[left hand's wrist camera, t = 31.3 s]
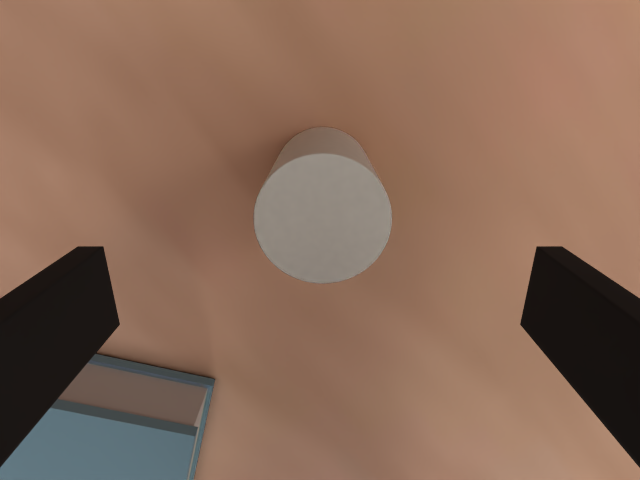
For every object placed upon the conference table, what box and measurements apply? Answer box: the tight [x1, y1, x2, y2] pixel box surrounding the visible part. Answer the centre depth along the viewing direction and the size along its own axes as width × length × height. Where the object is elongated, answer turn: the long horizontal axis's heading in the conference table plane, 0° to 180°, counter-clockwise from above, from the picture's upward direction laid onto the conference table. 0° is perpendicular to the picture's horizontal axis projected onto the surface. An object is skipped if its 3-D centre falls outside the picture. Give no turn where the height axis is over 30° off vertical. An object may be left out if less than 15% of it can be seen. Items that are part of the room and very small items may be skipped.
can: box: [254, 127, 392, 284], centre depth 20 cm, size 6×6×8 cm
